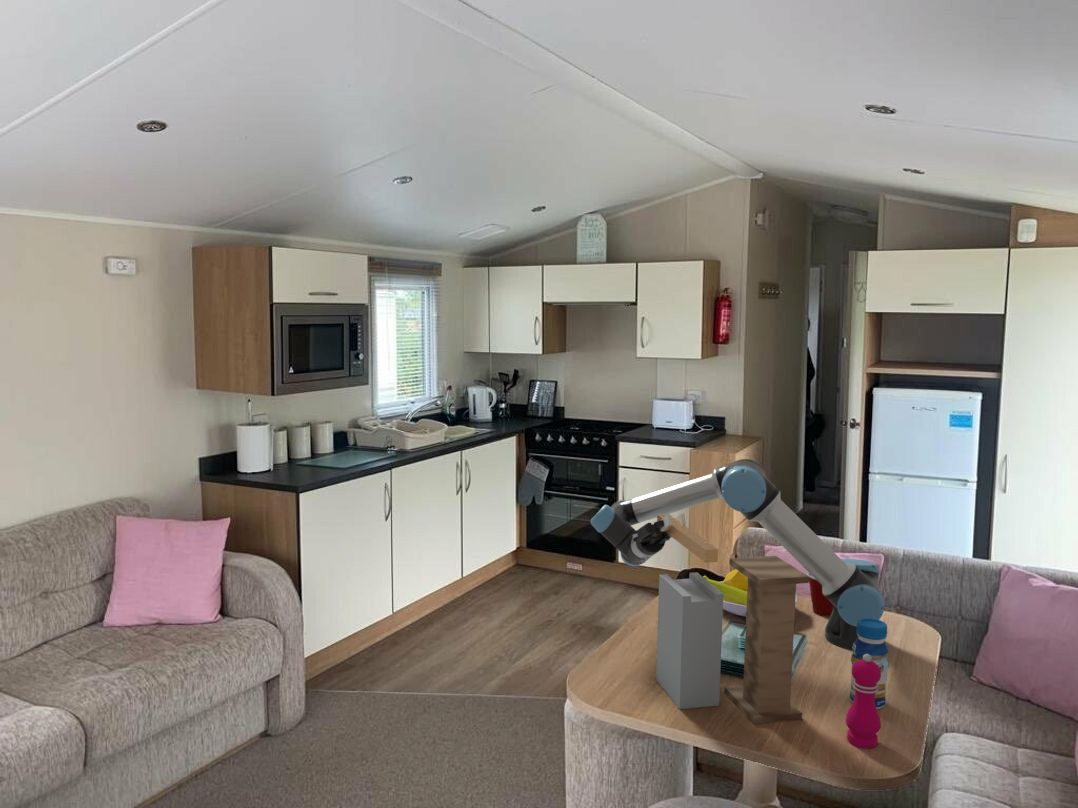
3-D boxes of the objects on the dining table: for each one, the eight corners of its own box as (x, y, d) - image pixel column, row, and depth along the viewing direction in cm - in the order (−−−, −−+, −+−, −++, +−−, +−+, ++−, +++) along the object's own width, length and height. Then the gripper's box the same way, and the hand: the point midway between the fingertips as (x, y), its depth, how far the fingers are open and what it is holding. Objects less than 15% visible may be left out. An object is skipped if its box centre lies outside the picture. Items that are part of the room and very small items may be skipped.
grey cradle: (656, 679, 221) (659, 574, 217) (693, 676, 223) (697, 572, 219) (679, 709, 205) (683, 596, 202) (719, 705, 207) (723, 593, 204)
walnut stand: (724, 692, 214) (729, 558, 210) (769, 688, 217) (775, 555, 212) (753, 724, 198) (760, 579, 194) (801, 719, 201) (809, 576, 197)
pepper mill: (884, 750, 188) (890, 661, 185) (850, 749, 188) (856, 660, 185) (872, 733, 195) (878, 647, 192) (840, 732, 195) (845, 647, 193)
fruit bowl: (794, 600, 280) (796, 566, 278) (796, 631, 254) (798, 594, 252) (706, 591, 287) (707, 558, 286) (698, 621, 261) (700, 584, 260)
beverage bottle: (889, 700, 211) (895, 621, 208) (881, 714, 204) (886, 632, 201) (853, 691, 216) (858, 613, 213) (844, 704, 209) (849, 624, 206)
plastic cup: (845, 610, 271) (847, 573, 270) (836, 621, 262) (839, 582, 261) (810, 603, 277) (812, 567, 275) (800, 614, 268) (802, 576, 266)
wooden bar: (657, 525, 229) (657, 514, 228) (667, 525, 229) (668, 514, 229) (705, 562, 198) (705, 549, 197) (717, 562, 198) (718, 549, 198)
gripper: (677, 554, 240) (709, 532, 219) (621, 556, 237) (648, 535, 216) (673, 527, 243) (704, 503, 222) (618, 529, 240) (644, 505, 219)
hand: (676, 519), depth 219 cm, fingers closed on wooden bar, 3 cm apart
